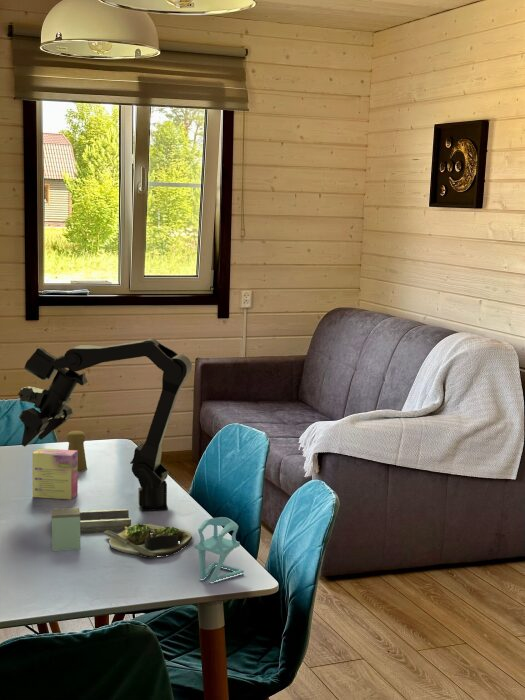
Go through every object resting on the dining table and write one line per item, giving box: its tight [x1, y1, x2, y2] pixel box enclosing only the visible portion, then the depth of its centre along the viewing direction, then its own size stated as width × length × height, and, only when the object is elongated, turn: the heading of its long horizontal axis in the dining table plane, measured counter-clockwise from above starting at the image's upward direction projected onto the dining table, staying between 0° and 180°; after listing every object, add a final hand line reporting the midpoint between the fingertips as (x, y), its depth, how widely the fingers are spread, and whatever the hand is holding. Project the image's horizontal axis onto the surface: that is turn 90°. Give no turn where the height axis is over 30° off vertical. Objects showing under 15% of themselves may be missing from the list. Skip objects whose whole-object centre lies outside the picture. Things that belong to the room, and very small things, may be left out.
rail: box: [80, 508, 132, 535], centre depth 216 cm, size 18×9×4 cm, turn 103°
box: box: [31, 447, 79, 501], centre depth 237 cm, size 10×6×12 cm, turn 84°
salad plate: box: [103, 522, 193, 558], centre depth 206 cm, size 19×18×5 cm
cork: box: [66, 430, 88, 473], centre depth 262 cm, size 6×6×11 cm
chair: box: [195, 516, 245, 582], centre depth 188 cm, size 8×8×12 cm
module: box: [51, 507, 81, 552], centre depth 203 cm, size 6×4×8 cm
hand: (31, 442), depth 232 cm, fingers open, 9 cm apart
